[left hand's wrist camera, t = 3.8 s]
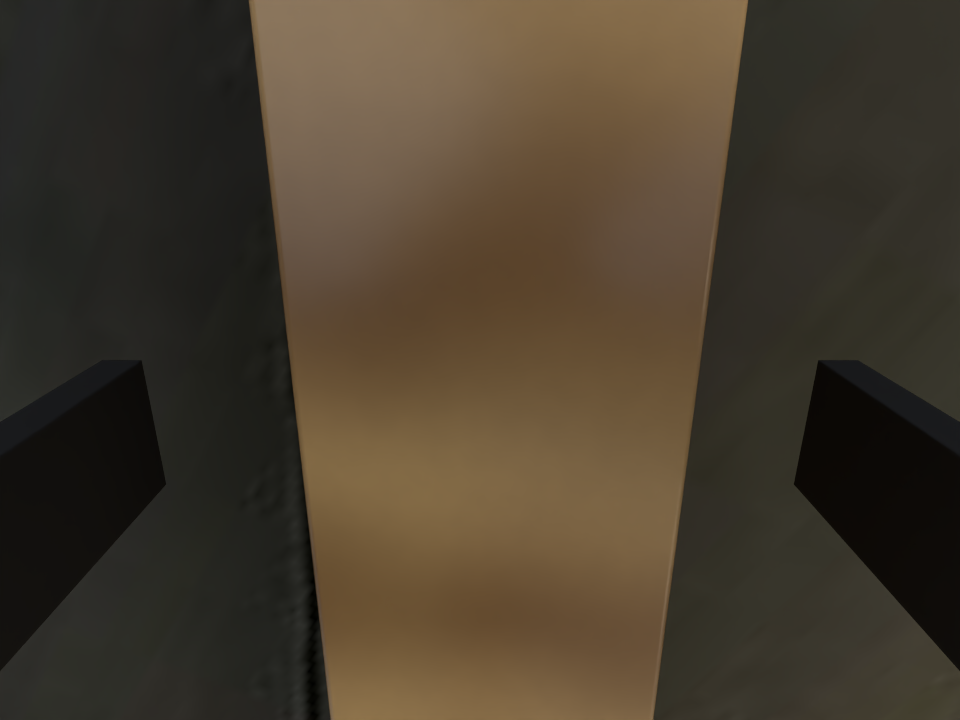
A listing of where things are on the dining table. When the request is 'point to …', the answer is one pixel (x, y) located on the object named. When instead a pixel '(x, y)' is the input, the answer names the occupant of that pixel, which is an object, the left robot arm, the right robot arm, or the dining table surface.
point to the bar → (495, 334)
